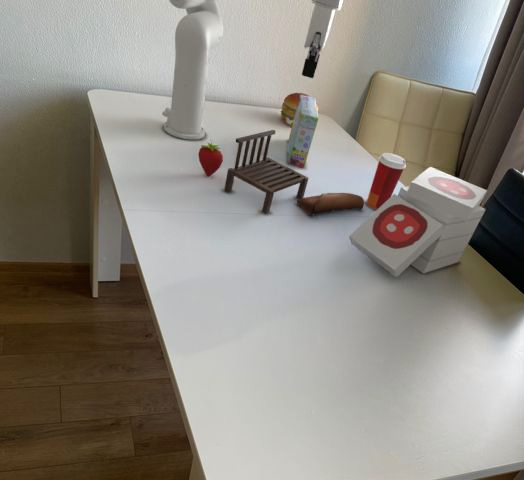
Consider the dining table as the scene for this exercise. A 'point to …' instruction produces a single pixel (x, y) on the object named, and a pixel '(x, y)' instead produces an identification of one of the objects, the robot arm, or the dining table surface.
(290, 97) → the burger
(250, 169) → the miniature wooden chair
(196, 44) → the robot arm
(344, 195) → the sunglasses case
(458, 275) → the dining table surface
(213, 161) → the strawberry
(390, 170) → the paper cup
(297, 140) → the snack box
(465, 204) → the pizza boxes
